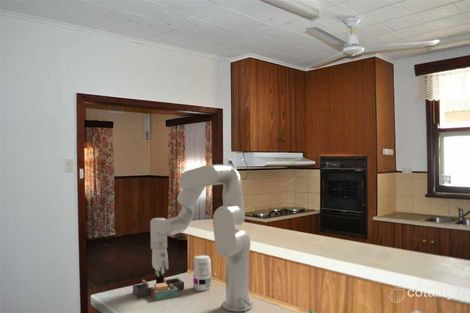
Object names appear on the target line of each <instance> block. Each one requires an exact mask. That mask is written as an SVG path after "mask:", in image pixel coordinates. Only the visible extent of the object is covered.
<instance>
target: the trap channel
mask: <svg viewBox="0 0 470 313" xmlns="http://www.w3.org/2000/svg"><path fill="white" fill-rule="evenodd" d="M141 281H142V282H141V283H138V284H134V285H132V293H133V295H134V296H135V298H136V299H141V298H146V296H147V297H151V298H153V299H154V301H156V302H158V301H157V300H159V301H162V299H164V300H168V299H167V298H169V299H173V298H178V297H179V292H180V291H184V290H185V281H183V280H182V279H180V278H178V277H177V278H176V277H175V278H170V279H167V278H164V283H166V284H167V285H168V290H165V291H159V292H158V291H156V290H155V289H154V287H153V286H149V282H147V280H145V279H142V280H141ZM183 289H184V290H183ZM179 290H180V291H179Z"/></svg>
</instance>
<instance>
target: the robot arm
mask: <svg viewBox="0 0 470 313" xmlns="http://www.w3.org/2000/svg"><path fill="white" fill-rule="evenodd" d="M178 185H179V187H180V188H181V189H180V192H179V193H178V196H177V202H178V203H179V204H180V205H181V208H180V211H179V213H178V215H177V216H175V217H171V218H165V217H154V218H152V219H151V220H150V222H149V223H150V249H151V250H152V251H151V252H152V253H151V264H152V268H153V269H154V271H155V284H159V283H164V279H165V276H164V275H165V273H166V271H167V270H169V258H168V250H167V248H168V237H170V236H174V235H176V234H177V235H178V234H180V233H183V232H185V231H186V230H187V229H188V227H189V226H190V224H191V222H192V220H193V218H194V216H195V206H196V203H197V202H198V200H199V198H200V197H201V195H202V193H203V192H204V190H205V188H206V187H209V186H210V187H211V186H216V185H217V186H218V185H223V189H222V205H221V206H219V207H217V208H216V210H215V211H214V213H213V217H212V226H213V236H214V245H215V250H216V252H217V253H218V255H220V256H221V257H223V258H225V259H226V260H225V300H224V301H223V302H222V304H221V305H222V308H223V309H224V310H226V311H229V312H235V313H236V312H237V313H238V312H247V311H248V310H251V309H252V308H253V307H254V306H253V305H254V304H253V301H251V300H250V294H249V292H250V291H249V290H250V288H249V287H250V284H249V283H250V282H249V280H250V279H249V274H250V273H249V271H250V268H249V266H250V264H249V262H250V261H249V260H250V251H251V238H250V235H249V234H248V232H247V231H246V230H244V229H240V228H239V229H238V228H236V227H238V226H240V225H242V224H243V223H244V222H245V218H246V216H245V215H246V214H245V204H244V203H245V202H244V196H243V182H242V178H241V174H240V173H239V172H238V170H237V169H236V168H235V167H233V166H230V165H228V164H206V165H202V166H199V167H196V168H191V169H189V170H185V171H184V172H182V174H180V176H179V180H178ZM165 270H166V271H165Z"/></svg>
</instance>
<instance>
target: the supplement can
mask: <svg viewBox="0 0 470 313" xmlns="http://www.w3.org/2000/svg"><path fill="white" fill-rule="evenodd" d="M193 258H194V259H193V260H192V262H193V264H192V265H193V266H192V267H193V269H192V270H193V275H192V276H193V289H194V290H195V291H198V292H205V291H206V292H207V291H208V290H210V289H211V287H212V284H211V283H212V281H211V280H212V275H211V274H212V270H211V268H212V266H211V264H212V263H211V262H212V261H211V258H210V256H209V255H204V254H200V255H196V256H194V257H193Z"/></svg>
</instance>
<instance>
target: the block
mask: <svg viewBox="0 0 470 313" xmlns="http://www.w3.org/2000/svg"><path fill="white" fill-rule="evenodd" d="M153 286H154V287H153V288H154V289H155V290H156V291H158V292H159V291H165V290H169V287H168V285H167V284H166V283H159V284H156V283H154V284H153Z"/></svg>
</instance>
